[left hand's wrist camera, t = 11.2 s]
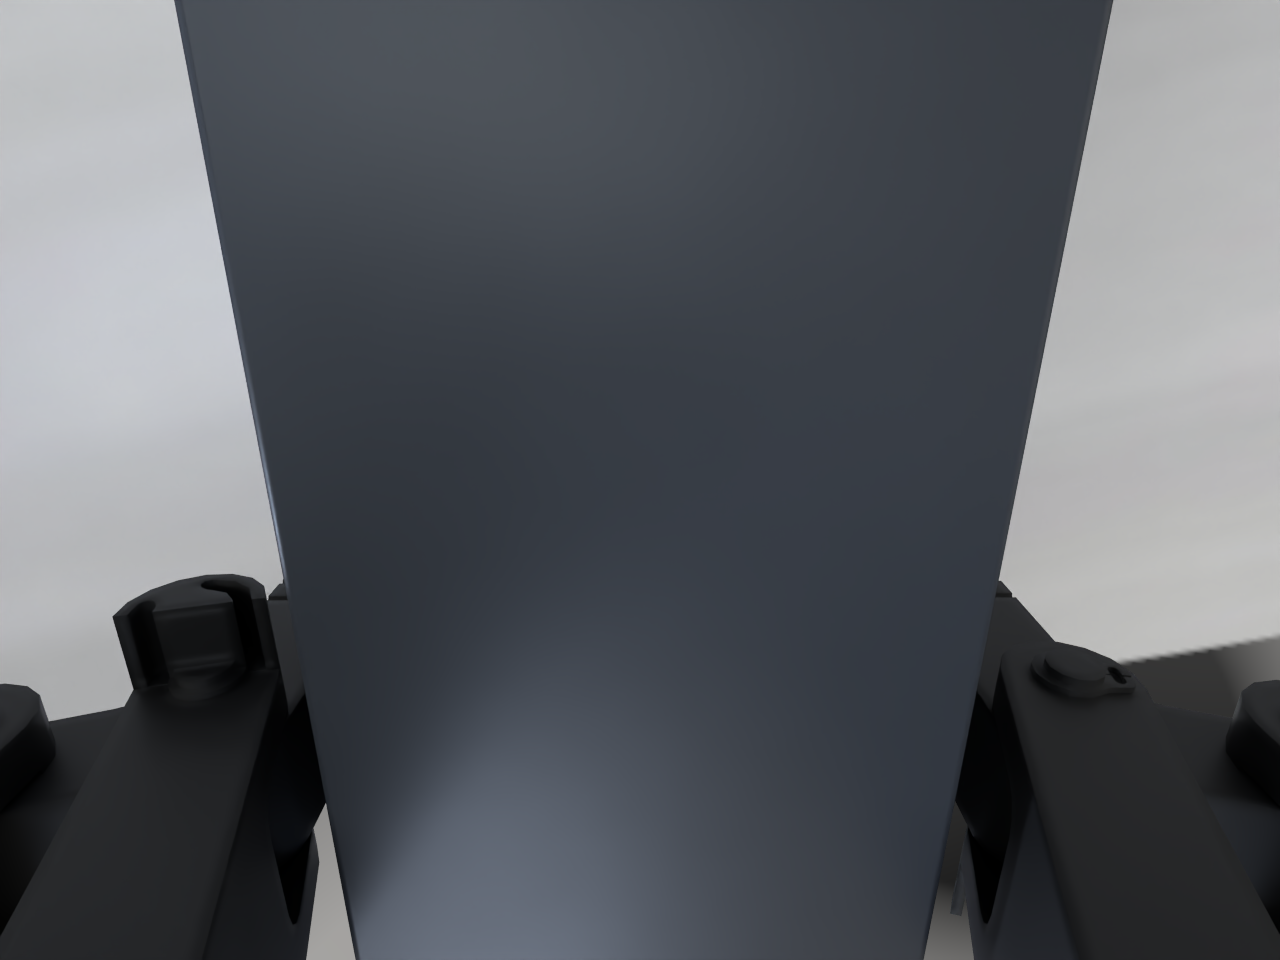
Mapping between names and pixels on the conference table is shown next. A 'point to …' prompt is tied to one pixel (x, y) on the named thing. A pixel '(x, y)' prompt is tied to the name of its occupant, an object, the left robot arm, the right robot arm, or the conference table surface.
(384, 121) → the bar
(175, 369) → the conference table surface
